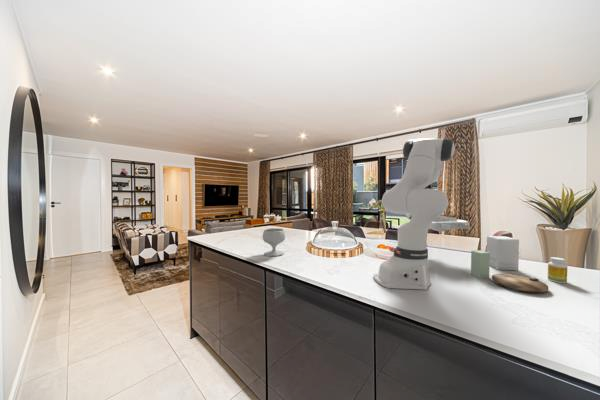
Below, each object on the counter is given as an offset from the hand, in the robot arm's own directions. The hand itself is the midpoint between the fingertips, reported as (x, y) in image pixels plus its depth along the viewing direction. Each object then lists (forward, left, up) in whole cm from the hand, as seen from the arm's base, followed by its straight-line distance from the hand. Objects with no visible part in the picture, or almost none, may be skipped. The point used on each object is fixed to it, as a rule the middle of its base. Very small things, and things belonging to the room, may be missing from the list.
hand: (459, 227), depth 111 cm
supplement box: (+21, -2, -20) cm, 29 cm away
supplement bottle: (+27, -20, -20) cm, 39 cm away
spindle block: (0, -12, -20) cm, 23 cm away
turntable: (+6, -23, -19) cm, 31 cm away
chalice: (-93, +34, -20) cm, 101 cm away
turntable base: (+6, -23, -20) cm, 31 cm away
